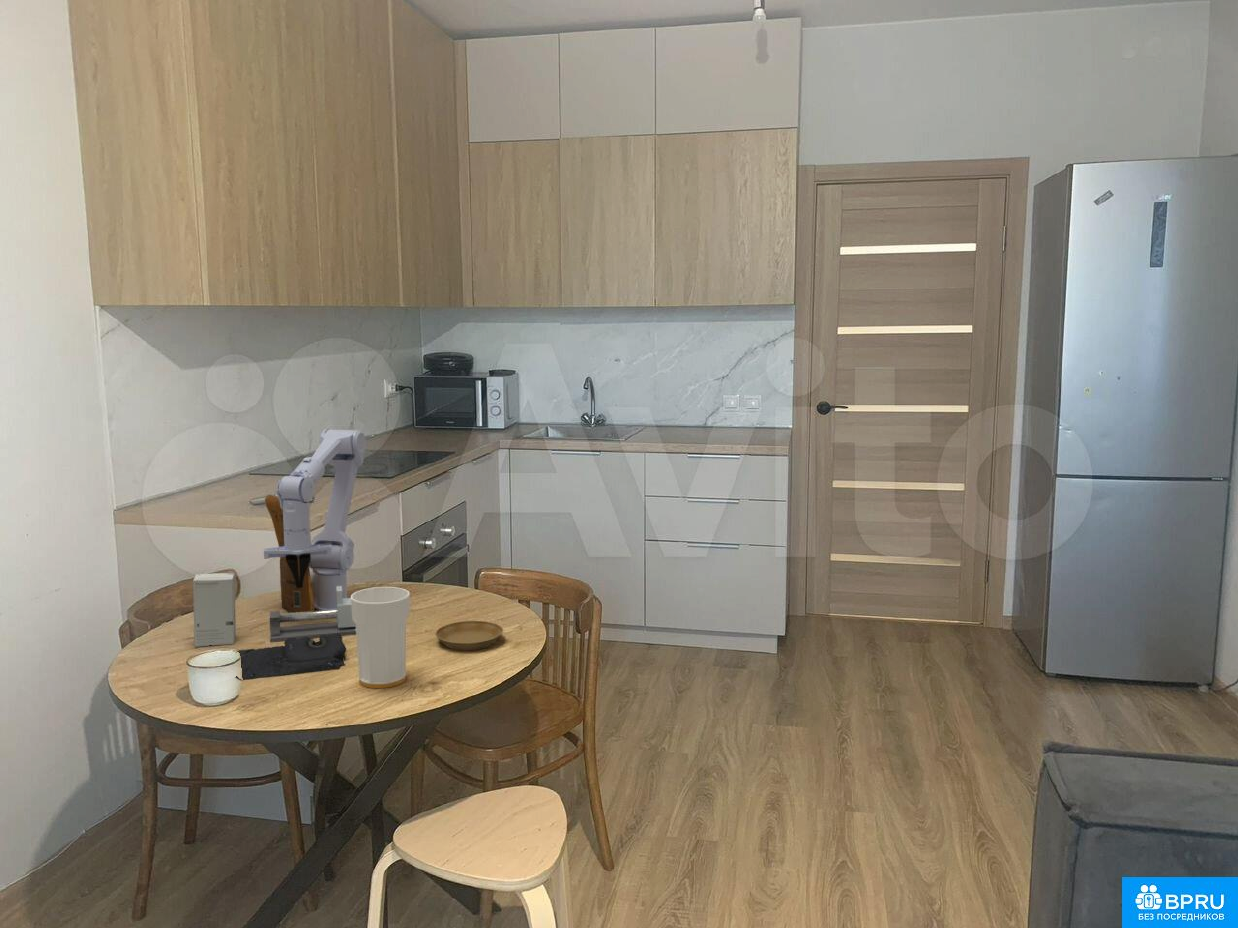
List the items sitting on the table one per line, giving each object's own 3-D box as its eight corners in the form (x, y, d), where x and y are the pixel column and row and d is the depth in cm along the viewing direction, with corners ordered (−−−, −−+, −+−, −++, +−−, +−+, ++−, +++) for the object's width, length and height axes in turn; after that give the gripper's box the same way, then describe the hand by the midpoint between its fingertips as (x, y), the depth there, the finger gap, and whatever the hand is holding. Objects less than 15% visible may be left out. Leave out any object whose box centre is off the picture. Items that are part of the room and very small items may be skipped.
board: (270, 642, 210) (270, 638, 210) (271, 630, 217) (271, 626, 217) (391, 631, 218) (391, 627, 218) (388, 620, 225) (388, 616, 225)
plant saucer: (472, 659, 202) (472, 647, 201) (421, 645, 209) (421, 634, 209) (516, 639, 214) (516, 628, 213) (466, 627, 222) (466, 616, 221)
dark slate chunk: (233, 658, 201) (232, 636, 200) (341, 645, 209) (341, 625, 208) (233, 684, 187) (231, 661, 186) (349, 670, 195) (348, 647, 194)
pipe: (270, 639, 211) (269, 617, 210) (271, 632, 216) (270, 611, 215) (391, 628, 219) (390, 607, 218) (389, 622, 224) (388, 601, 223)
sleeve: (338, 627, 215) (336, 591, 214) (337, 620, 220) (336, 585, 219) (356, 626, 216) (355, 590, 215) (355, 619, 221) (354, 584, 220)
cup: (388, 664, 197) (386, 583, 194) (423, 678, 190) (422, 593, 187) (341, 680, 188) (338, 595, 186) (376, 695, 181) (374, 606, 179)
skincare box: (194, 647, 206) (190, 580, 204) (197, 638, 212) (193, 573, 209) (236, 644, 208) (232, 577, 206) (238, 635, 214) (234, 570, 212)
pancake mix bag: (294, 622, 223) (289, 504, 219) (268, 602, 238) (262, 492, 233) (322, 617, 227) (318, 501, 223) (294, 598, 242) (290, 489, 237)
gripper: (262, 534, 211) (265, 594, 213) (330, 530, 215) (333, 588, 218) (263, 527, 218) (266, 585, 220) (330, 523, 222) (332, 580, 224)
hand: (299, 586), depth 219 cm, fingers closed
